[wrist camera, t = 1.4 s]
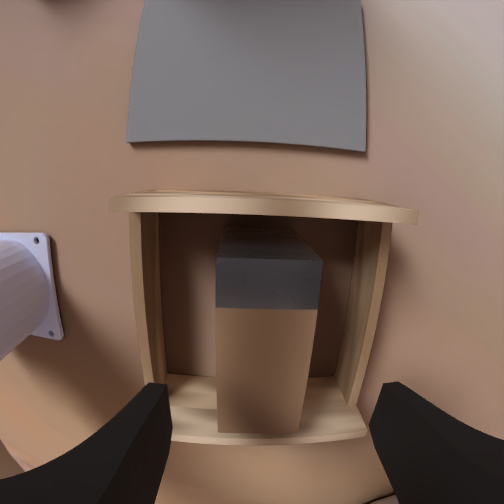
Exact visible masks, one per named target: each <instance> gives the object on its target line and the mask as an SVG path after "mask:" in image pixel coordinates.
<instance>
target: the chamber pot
mask: <svg viewBox="0 0 504 504" xmlns="http://www.w3.org/2000/svg"><path fill="white" fill-rule="evenodd" d="M369 504H399V503H398V500H397V497H396V495H392V496H389V497H386V498H383V499H380V500H377V501H374V502H372V503H369Z"/></svg>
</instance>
